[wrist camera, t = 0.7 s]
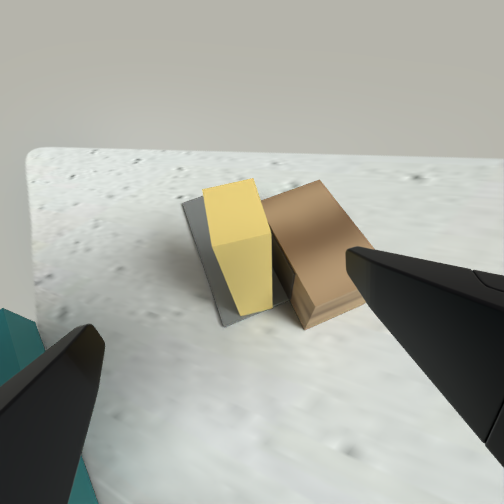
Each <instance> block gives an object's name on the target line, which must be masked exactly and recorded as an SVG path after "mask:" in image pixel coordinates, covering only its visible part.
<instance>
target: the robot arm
mask: <svg viewBox="0 0 504 504" xmlns="http://www.w3.org/2000/svg"><path fill="white" fill-rule="evenodd" d="M345 259H346V271H347V274H348V276H349V277H350V279H351V280H352V282H353V283H354V285H355V286H356V288H357V289H358V291H359V292H360V294H361V295H362V297H363V298H364V300H365V301H366V303H367V304H368V306H369V307H370V308H371V310H372V311H373V312H374V313H375V315H376V316H377V317H378V318H379V319H380V321H381V322H382V323H383V324H384V325H385V327H386V328H387V329H388V330H389V331H390V332H391V334H392V335H393V336H394V337H395V338H396V340H397V341H398V342H399V343H400V344H401V346H402V347H403V348H404V349H405V350H406V352H407V353H408V354H409V355H410V356H411V358H412V359H413V360H414V361H415V362H416V363H417V365H418V366H419V367H420V368H421V369H422V371H423V372H424V373H425V374H426V375H427V377H428V378H429V379H430V380H431V381H432V383H433V384H434V385H435V386H436V387H437V388H438V390H439V391H440V392H441V393H442V394H443V396H444V397H445V398H446V399H447V400H448V402H449V403H450V404H451V405H452V406H453V408H454V409H455V410H456V411H457V412H458V414H459V415H460V416H461V417H462V418H463V419H464V421H465V422H466V423H467V424H468V425H469V427H470V428H471V429H472V430H473V431H474V433H475V434H476V435H477V436H478V437H479V439H480V440H481V441H482V442H483V443H485V446H486V447H487V448H488V450H489V451H490V452H491V453H492V454H493V456H494V457H495V458H496V459H497V460H498V462H499V463H500V464H501V465H502V466H503V467H504V276H503V275H498V274H492V273H487V272H483V271H478V270H473V271H472V270H471V269H468V268H463V267H458V266H453V265H448V264H443V263H438V262H433V261H428V260H423V259H419V258H414V257H409V256H404V255H399V254H394V253H389V252H384V251H379V250H374V249H370V248H365V247H360V246H355V247H352V248H349V249H347V250H346V252H345ZM104 351H105V342H104V340H103V338H102V337H101V336H100V334H99V333H98V331H97V330H96V328H95V327H94V326H93V325H92V324H86V325H82V326H79V327H76V328H75V329H74V330H72V331H71V332H70V333H68V334H67V335H66V336H65V337H63V338H62V339H61V340H59V341H58V342H57V343H56V344H54V345H53V346H52V347H50V348H49V349H48V350H47V351H45V352H44V353H43V354H41V355H40V356H39V357H38V358H36V359H35V360H34V361H32V362H31V363H30V364H29V365H27V366H26V367H25V368H23V369H22V370H21V371H20V372H18V373H17V374H16V375H15V376H13V377H12V378H11V379H9V380H8V381H7V382H6V383H4V384H3V385H2V386H0V504H68V502H69V498H70V494H71V490H72V487H73V483H74V479H75V476H76V472H77V468H78V464H79V461H80V457H81V453H82V450H83V446H84V442H85V438H86V435H87V431H88V427H89V424H90V420H91V416H92V412H93V409H94V405H95V401H96V397H97V393H98V388H99V383H100V377H101V370H102V364H103V358H104Z"/></svg>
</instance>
